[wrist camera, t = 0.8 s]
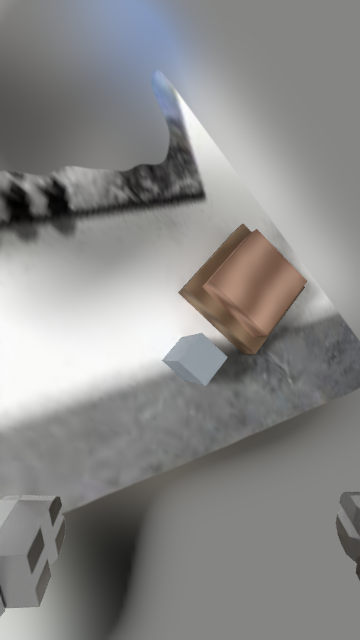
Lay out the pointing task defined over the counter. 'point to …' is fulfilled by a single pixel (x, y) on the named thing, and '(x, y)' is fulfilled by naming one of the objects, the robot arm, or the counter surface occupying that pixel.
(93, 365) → the counter surface
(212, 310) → the plinth
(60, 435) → the counter surface
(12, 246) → the counter surface
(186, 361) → the slate brick
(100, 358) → the counter surface
